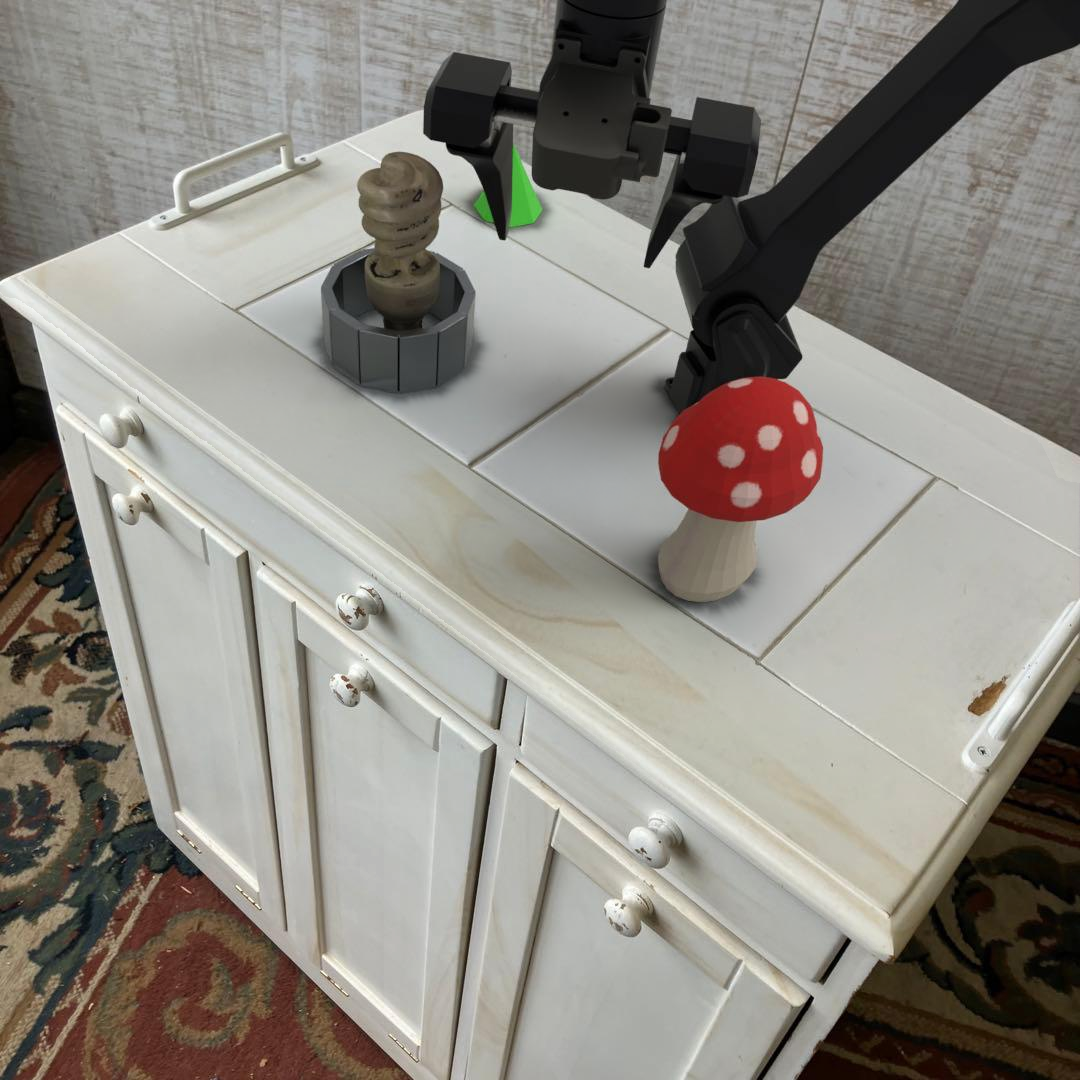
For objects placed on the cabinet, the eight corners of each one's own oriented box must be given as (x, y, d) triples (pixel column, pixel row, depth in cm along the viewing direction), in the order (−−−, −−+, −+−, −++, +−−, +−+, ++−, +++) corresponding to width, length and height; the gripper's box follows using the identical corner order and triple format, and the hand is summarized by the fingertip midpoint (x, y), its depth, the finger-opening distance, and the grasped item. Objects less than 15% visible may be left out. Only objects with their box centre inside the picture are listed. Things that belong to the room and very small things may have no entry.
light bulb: (401, 380, 78) (401, 194, 67) (346, 345, 80) (338, 159, 69) (452, 345, 82) (461, 161, 70) (398, 312, 83) (399, 129, 72)
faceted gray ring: (447, 293, 86) (449, 238, 82) (488, 380, 79) (493, 325, 76) (312, 311, 83) (308, 255, 79) (344, 402, 76) (341, 346, 72)
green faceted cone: (543, 229, 93) (551, 165, 88) (473, 225, 92) (477, 160, 88) (541, 191, 97) (548, 128, 92) (473, 186, 96) (477, 123, 92)
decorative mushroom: (719, 500, 74) (777, 320, 62) (805, 586, 69) (885, 410, 58) (601, 554, 69) (640, 373, 58) (686, 651, 65) (746, 474, 54)
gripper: (397, 27, 52) (396, 296, 64) (784, 98, 51) (711, 358, 63) (451, -58, 59) (442, 197, 71) (790, 3, 58) (724, 251, 70)
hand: (575, 250), depth 68 cm, fingers open, 9 cm apart
